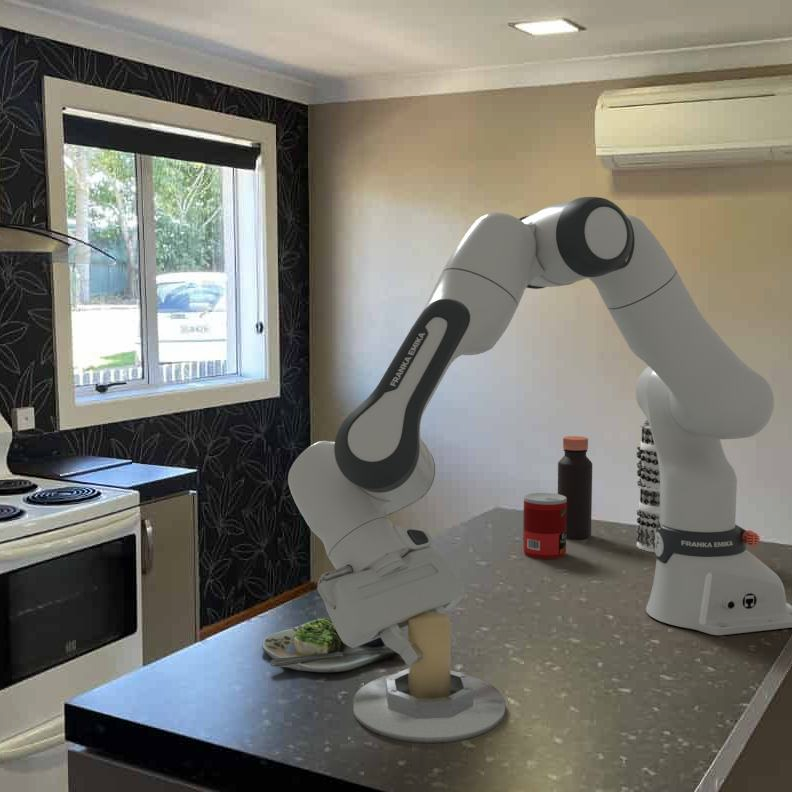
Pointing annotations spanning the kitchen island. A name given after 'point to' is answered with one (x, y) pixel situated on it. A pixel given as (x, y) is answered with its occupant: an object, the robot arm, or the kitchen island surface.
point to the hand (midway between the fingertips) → (433, 653)
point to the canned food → (545, 525)
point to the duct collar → (429, 709)
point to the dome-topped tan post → (430, 655)
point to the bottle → (576, 486)
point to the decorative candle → (648, 491)
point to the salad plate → (321, 649)
